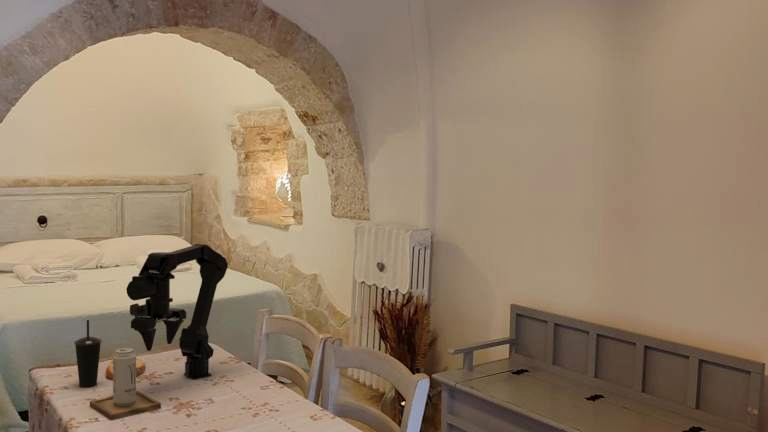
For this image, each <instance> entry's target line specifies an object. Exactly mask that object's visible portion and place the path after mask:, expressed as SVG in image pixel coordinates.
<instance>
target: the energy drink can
mask: <svg viewBox="0 0 768 432" xmlns="http://www.w3.org/2000/svg"><path fill="white" fill-rule="evenodd" d="M134 349H135V348H130V347H122V348H118V349H115V351H114V354H113V356H112V361H113V380H112V396H113V402H114V403H115V405H116V406H129V405H132V404H134V401H135V400H136V391H137V377H136V359H137V354H136V353H135V351H134Z"/></svg>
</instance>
